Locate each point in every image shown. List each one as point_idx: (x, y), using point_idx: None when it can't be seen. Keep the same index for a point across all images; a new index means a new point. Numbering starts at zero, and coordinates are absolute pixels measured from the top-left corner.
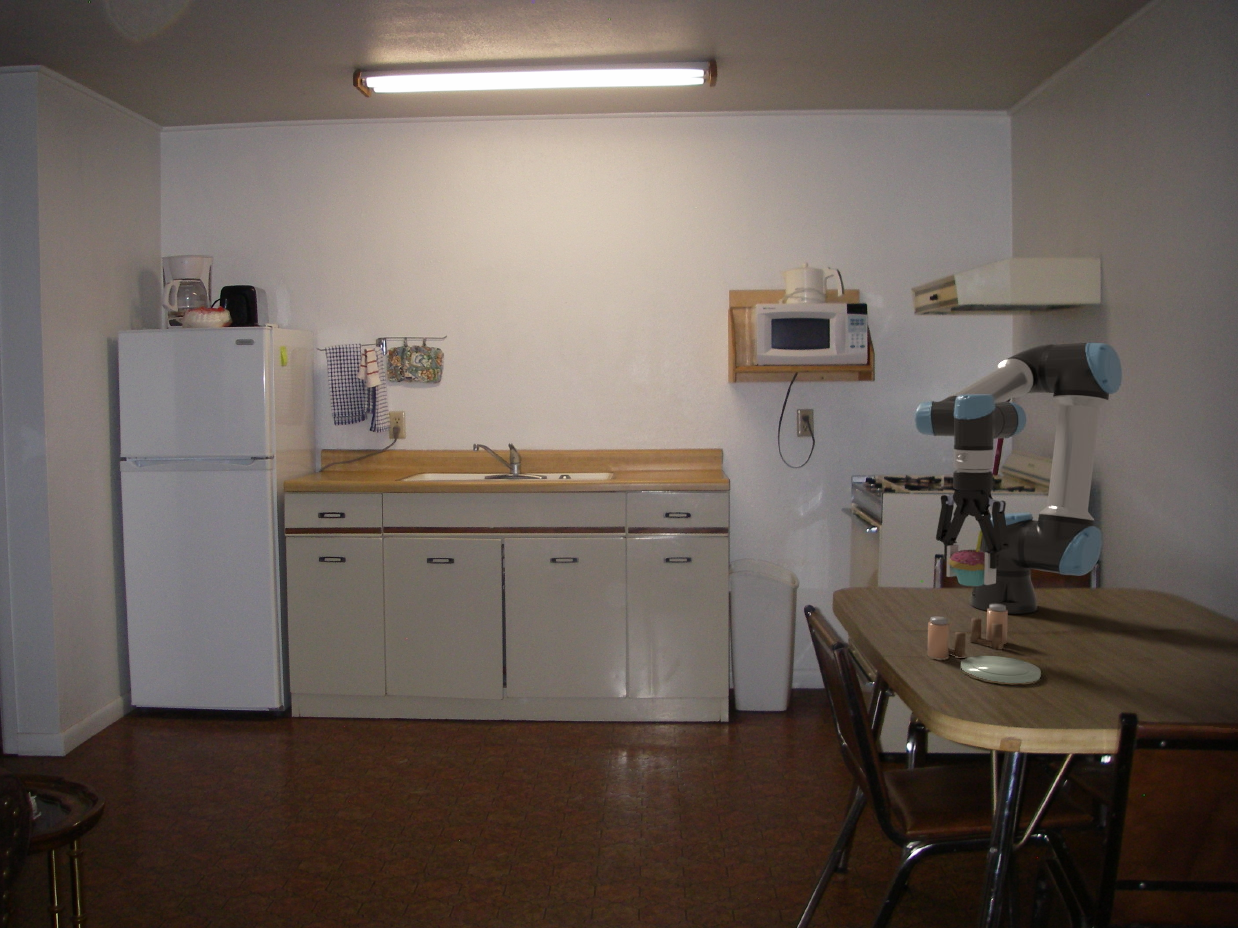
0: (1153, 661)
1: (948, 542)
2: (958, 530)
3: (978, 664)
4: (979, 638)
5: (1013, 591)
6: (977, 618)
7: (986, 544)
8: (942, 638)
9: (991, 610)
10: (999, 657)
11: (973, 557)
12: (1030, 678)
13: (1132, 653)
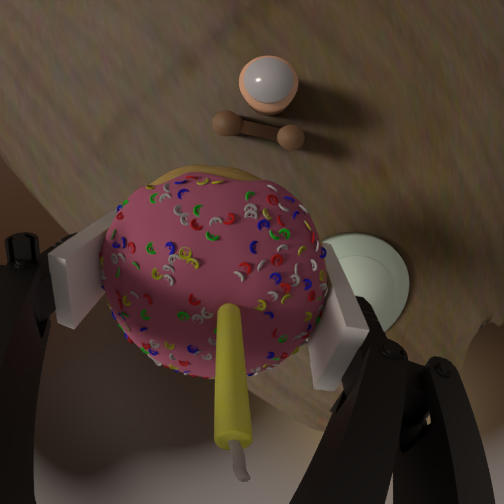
0: (500, 71)
1: (49, 328)
2: (17, 351)
3: None
4: (242, 128)
5: None
6: (224, 114)
7: (327, 426)
8: None
9: (258, 101)
10: (333, 246)
11: (251, 372)
12: (398, 315)
13: (471, 37)
